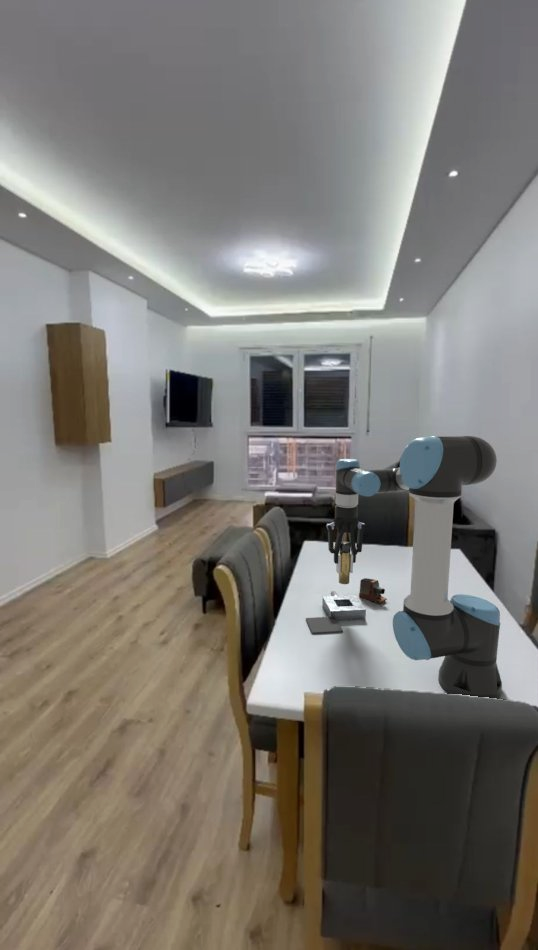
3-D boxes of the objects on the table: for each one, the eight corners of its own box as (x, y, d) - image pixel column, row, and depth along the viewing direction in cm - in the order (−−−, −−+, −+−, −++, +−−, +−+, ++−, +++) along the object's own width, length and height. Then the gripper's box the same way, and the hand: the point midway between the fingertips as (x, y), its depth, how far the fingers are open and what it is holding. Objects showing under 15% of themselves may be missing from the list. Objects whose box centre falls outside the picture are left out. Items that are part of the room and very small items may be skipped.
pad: (342, 632, 151) (343, 630, 150) (312, 634, 149) (312, 632, 149) (334, 618, 160) (335, 616, 160) (305, 619, 159) (305, 617, 159)
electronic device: (380, 605, 170) (381, 585, 169) (358, 597, 177) (358, 578, 176) (387, 602, 174) (387, 582, 172) (365, 594, 180) (365, 575, 179)
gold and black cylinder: (350, 584, 162) (351, 544, 159) (340, 584, 161) (341, 544, 159) (347, 580, 165) (348, 541, 163) (337, 580, 165) (338, 541, 162)
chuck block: (365, 619, 160) (365, 609, 159) (330, 621, 158) (330, 611, 158) (348, 595, 179) (348, 586, 179) (317, 596, 178) (317, 587, 177)
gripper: (367, 502, 163) (364, 567, 167) (319, 503, 161) (318, 568, 165) (374, 507, 156) (371, 575, 160) (324, 508, 154) (323, 576, 158)
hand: (344, 571), depth 163 cm, fingers closed on gold and black cylinder, 4 cm apart
